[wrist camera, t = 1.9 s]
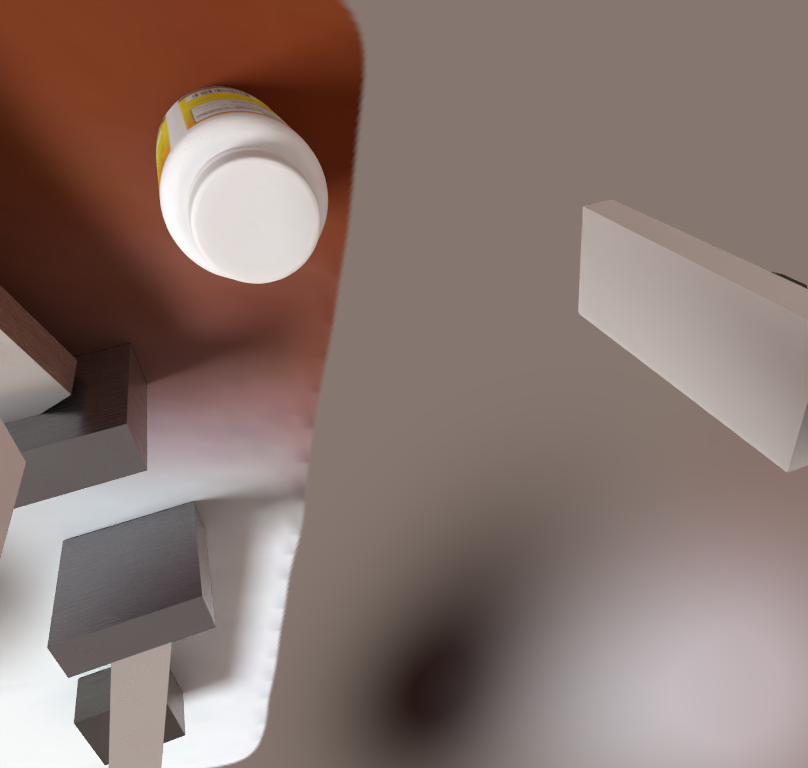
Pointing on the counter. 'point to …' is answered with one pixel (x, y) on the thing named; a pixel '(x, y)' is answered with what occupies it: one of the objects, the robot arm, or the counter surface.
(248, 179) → the supplement bottle
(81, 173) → the counter surface
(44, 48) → the counter surface
